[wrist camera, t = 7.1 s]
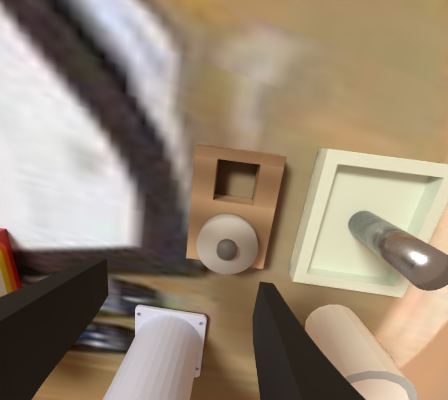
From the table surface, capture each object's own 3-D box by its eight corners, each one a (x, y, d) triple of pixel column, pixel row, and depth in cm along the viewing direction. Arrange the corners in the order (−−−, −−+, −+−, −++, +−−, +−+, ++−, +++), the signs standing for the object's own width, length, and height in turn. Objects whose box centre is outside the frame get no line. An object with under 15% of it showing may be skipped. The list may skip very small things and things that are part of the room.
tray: (388, 284, 21) (402, 297, 19) (288, 269, 21) (292, 281, 19) (440, 163, 17) (463, 166, 15) (319, 147, 17) (328, 148, 16)
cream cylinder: (308, 294, 22) (341, 364, 15) (374, 306, 21) (436, 382, 15) (291, 343, 24) (313, 424, 17) (351, 354, 23) (397, 440, 17)
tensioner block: (260, 257, 21) (265, 284, 17) (191, 247, 21) (180, 272, 17) (280, 155, 18) (292, 159, 14) (199, 144, 18) (189, 146, 14)
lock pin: (371, 237, 19) (447, 292, 12) (344, 234, 19) (404, 287, 12) (380, 212, 18) (465, 256, 11) (352, 209, 18) (420, 251, 11)
